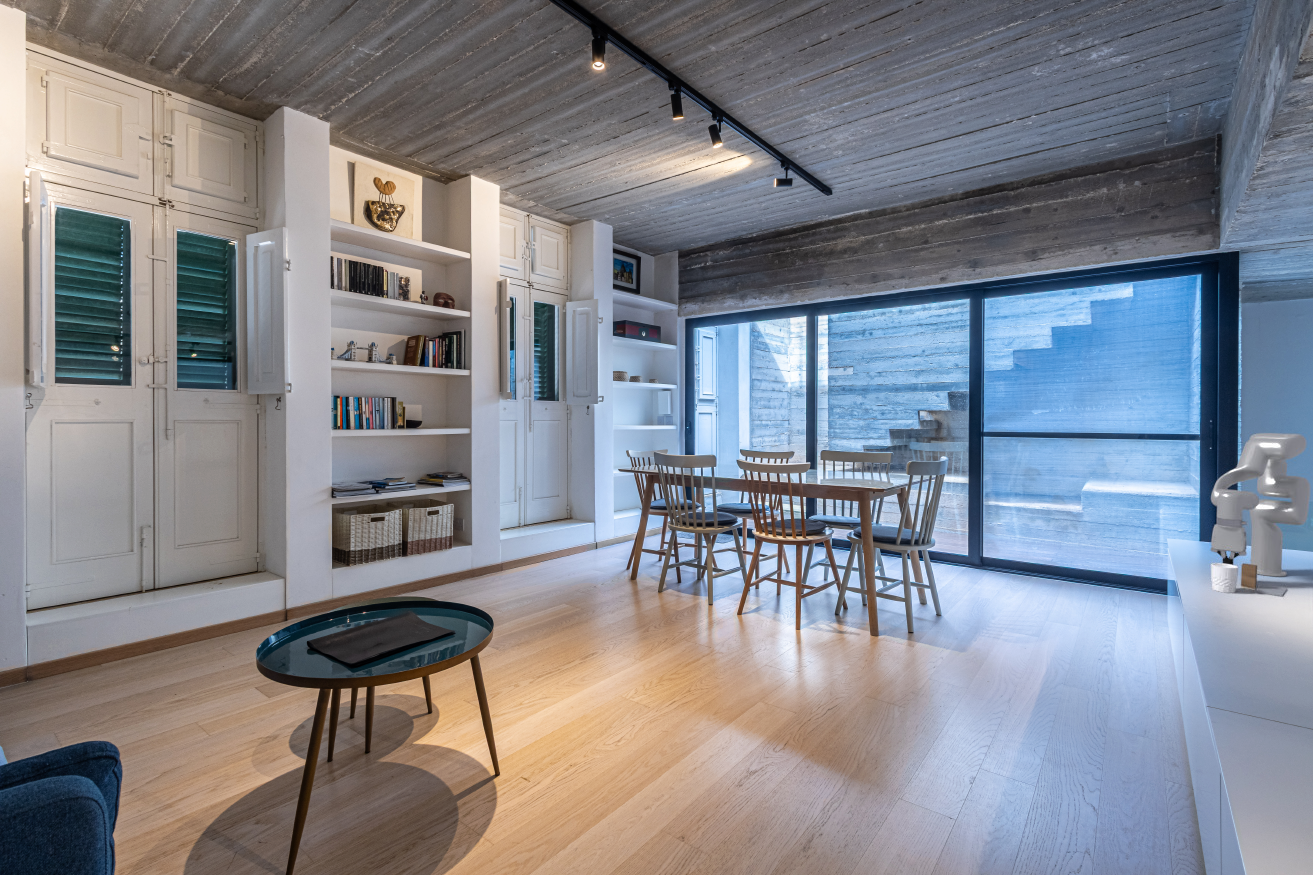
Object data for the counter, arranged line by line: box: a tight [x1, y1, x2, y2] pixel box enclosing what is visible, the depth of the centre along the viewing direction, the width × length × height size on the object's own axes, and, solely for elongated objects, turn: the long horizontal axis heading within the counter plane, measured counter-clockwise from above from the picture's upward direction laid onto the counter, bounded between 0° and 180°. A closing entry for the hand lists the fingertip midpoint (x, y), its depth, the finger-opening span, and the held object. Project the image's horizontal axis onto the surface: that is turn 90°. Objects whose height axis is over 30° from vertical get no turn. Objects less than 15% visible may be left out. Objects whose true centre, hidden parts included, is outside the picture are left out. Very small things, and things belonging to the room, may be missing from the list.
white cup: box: [1210, 562, 1239, 594], centre depth 241 cm, size 8×8×10 cm
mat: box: [1254, 584, 1288, 597], centre depth 241 cm, size 14×8×1 cm, turn 129°
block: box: [1240, 563, 1258, 591], centre depth 245 cm, size 4×4×9 cm
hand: (1227, 567), depth 250 cm, fingers closed
